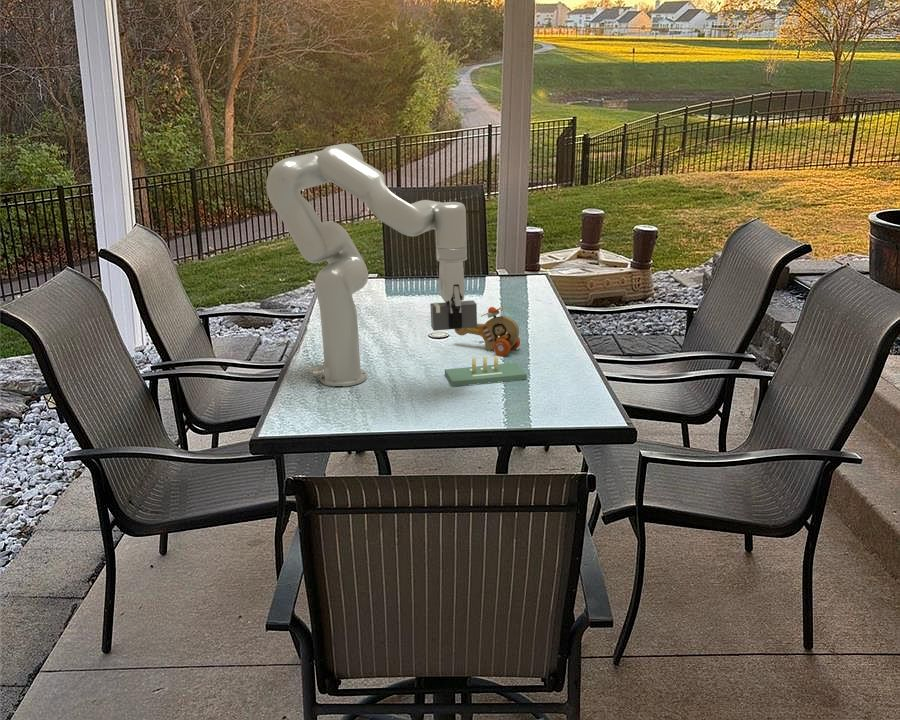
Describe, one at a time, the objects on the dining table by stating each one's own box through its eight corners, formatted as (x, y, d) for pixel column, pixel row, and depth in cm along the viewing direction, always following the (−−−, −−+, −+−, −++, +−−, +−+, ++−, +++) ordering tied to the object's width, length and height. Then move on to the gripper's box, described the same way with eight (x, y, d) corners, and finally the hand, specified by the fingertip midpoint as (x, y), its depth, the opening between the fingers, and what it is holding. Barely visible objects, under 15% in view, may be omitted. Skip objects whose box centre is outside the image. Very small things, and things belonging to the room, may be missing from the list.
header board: (452, 386, 227) (452, 366, 225) (444, 374, 236) (444, 355, 235) (526, 379, 231) (526, 359, 229) (516, 367, 240) (516, 348, 238)
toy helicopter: (511, 358, 249) (511, 311, 244) (448, 348, 259) (447, 303, 254) (524, 350, 255) (523, 304, 251) (462, 341, 265) (461, 297, 261)
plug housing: (433, 330, 217) (432, 306, 215) (431, 326, 220) (430, 303, 219) (477, 327, 219) (476, 303, 217) (473, 323, 222) (473, 299, 220)
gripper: (431, 248, 221) (433, 318, 227) (442, 261, 205) (444, 336, 211) (460, 246, 222) (462, 316, 228) (473, 259, 207) (475, 333, 212)
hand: (453, 325), depth 219 cm, fingers closed on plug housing, 3 cm apart
